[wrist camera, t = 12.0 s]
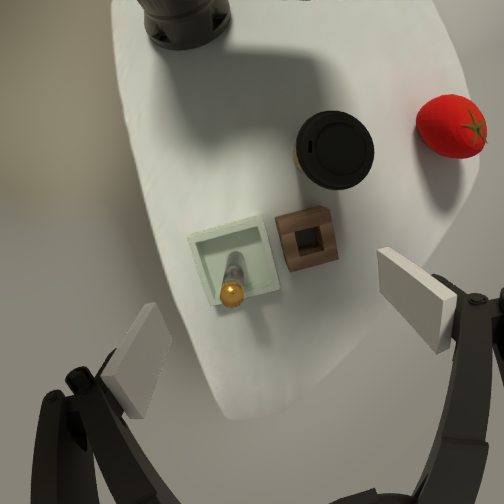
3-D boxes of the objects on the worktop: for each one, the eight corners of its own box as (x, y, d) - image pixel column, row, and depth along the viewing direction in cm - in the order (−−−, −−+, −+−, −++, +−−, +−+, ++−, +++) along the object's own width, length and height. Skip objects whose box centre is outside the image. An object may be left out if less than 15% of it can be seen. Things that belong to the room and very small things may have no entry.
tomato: (401, 144, 43) (449, 139, 29) (410, 91, 40) (455, 74, 27) (449, 168, 44) (498, 173, 31) (457, 119, 41) (503, 112, 28)
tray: (191, 233, 47) (187, 238, 43) (261, 214, 46) (262, 217, 43) (212, 297, 50) (210, 306, 47) (278, 281, 50) (280, 289, 46)
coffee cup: (339, 186, 45) (378, 193, 31) (281, 184, 45) (298, 189, 31) (339, 129, 43) (378, 113, 28) (281, 125, 42) (298, 103, 28)
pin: (225, 253, 47) (216, 289, 33) (241, 249, 47) (239, 283, 33) (229, 268, 48) (223, 309, 34) (246, 264, 48) (246, 304, 34)
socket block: (274, 217, 46) (278, 222, 42) (321, 205, 46) (329, 209, 41) (285, 262, 49) (290, 272, 44) (330, 250, 48) (338, 259, 43)
